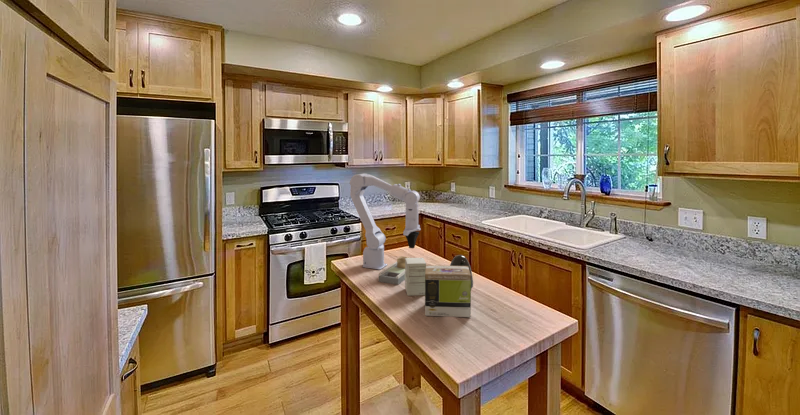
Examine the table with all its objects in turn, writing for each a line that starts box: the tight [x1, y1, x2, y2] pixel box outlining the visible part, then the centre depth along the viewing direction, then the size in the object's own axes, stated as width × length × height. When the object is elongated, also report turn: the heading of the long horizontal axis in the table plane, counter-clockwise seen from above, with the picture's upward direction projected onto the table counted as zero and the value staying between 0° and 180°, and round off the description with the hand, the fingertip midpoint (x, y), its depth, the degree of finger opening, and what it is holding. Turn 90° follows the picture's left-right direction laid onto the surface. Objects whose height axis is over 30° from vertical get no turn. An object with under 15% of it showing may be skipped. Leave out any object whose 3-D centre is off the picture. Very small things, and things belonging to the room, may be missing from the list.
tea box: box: [424, 264, 472, 318], centre depth 122 cm, size 15×10×15 cm, turn 84°
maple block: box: [396, 255, 410, 268], centre depth 162 cm, size 4×4×4 cm
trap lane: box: [378, 261, 405, 286], centre depth 160 cm, size 9×24×4 cm, turn 156°
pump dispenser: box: [449, 254, 474, 290], centre depth 137 cm, size 10×10×15 cm
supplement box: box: [404, 257, 427, 297], centre depth 139 cm, size 7×7×13 cm
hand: (411, 247), depth 163 cm, fingers closed
